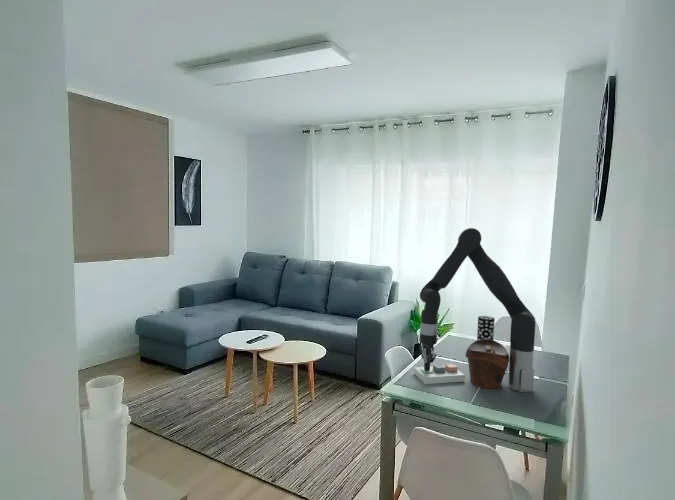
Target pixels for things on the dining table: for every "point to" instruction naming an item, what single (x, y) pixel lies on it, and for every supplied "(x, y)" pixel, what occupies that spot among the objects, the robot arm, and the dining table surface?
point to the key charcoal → (438, 368)
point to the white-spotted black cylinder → (485, 328)
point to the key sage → (426, 371)
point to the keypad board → (439, 376)
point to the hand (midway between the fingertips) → (426, 370)
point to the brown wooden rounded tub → (487, 363)
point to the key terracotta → (450, 367)
